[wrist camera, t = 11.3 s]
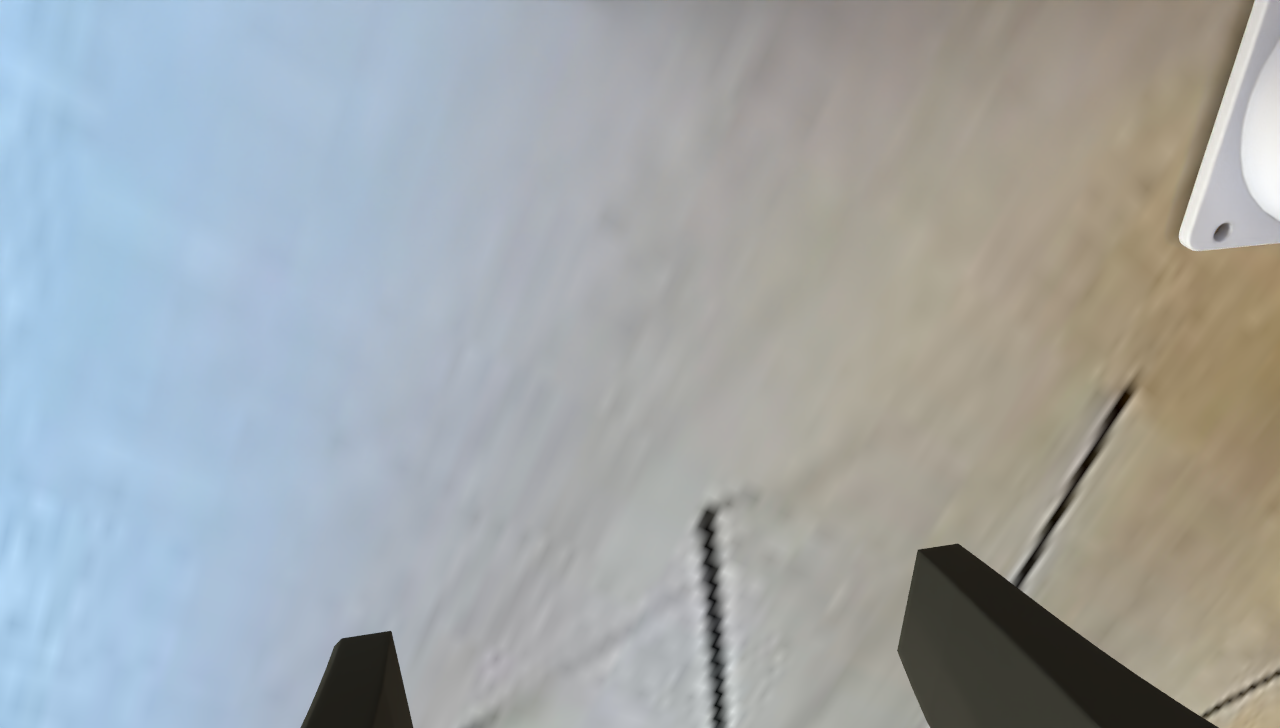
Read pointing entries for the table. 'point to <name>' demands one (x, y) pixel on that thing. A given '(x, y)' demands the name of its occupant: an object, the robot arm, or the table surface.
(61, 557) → the table surface
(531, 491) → the table surface
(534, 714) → the table surface
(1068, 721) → the robot arm
